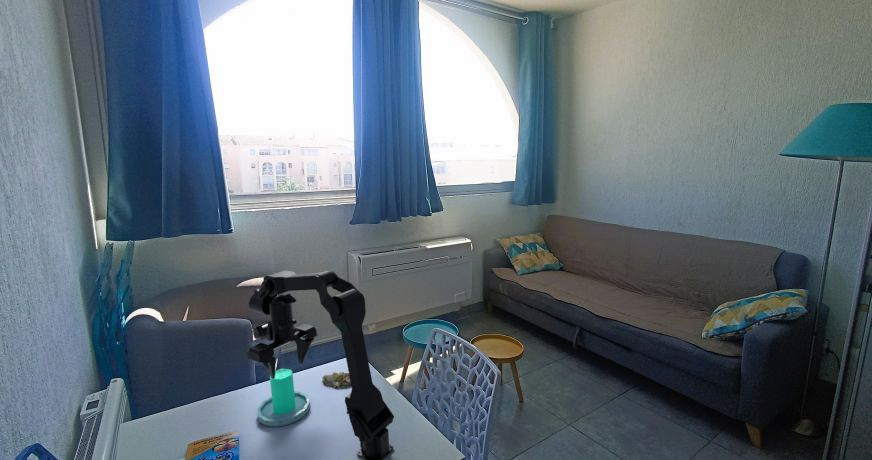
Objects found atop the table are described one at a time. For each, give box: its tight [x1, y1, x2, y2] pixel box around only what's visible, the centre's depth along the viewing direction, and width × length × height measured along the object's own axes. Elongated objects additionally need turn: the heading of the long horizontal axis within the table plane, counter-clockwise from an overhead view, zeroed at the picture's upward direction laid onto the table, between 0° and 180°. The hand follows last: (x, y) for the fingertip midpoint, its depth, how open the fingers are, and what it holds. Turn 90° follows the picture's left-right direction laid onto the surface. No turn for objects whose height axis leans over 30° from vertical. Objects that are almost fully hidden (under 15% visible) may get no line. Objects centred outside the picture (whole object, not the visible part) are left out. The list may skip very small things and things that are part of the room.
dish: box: [256, 390, 311, 427], centre depth 113 cm, size 14×14×2 cm
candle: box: [269, 368, 296, 414], centre depth 112 cm, size 6×6×12 cm
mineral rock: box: [322, 371, 351, 389], centre depth 128 cm, size 11×4×8 cm
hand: (287, 370), depth 111 cm, fingers open, 9 cm apart
